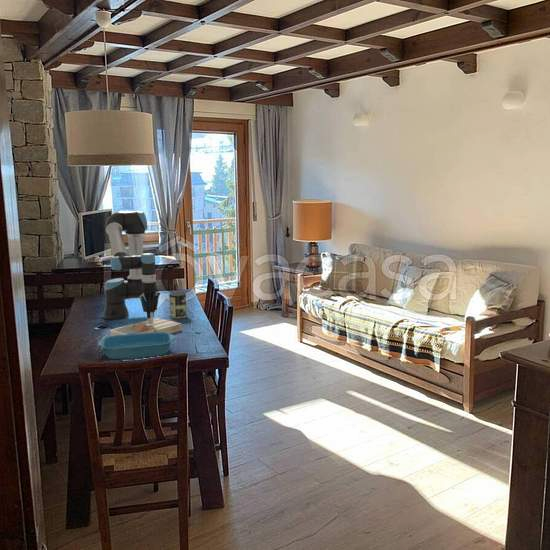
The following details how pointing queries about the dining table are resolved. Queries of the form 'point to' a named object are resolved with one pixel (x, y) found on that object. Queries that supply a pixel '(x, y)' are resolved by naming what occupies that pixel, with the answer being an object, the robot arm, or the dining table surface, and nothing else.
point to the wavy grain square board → (163, 326)
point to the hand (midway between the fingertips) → (150, 323)
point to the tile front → (130, 332)
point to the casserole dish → (136, 345)
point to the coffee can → (177, 305)
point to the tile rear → (140, 327)
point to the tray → (125, 328)
